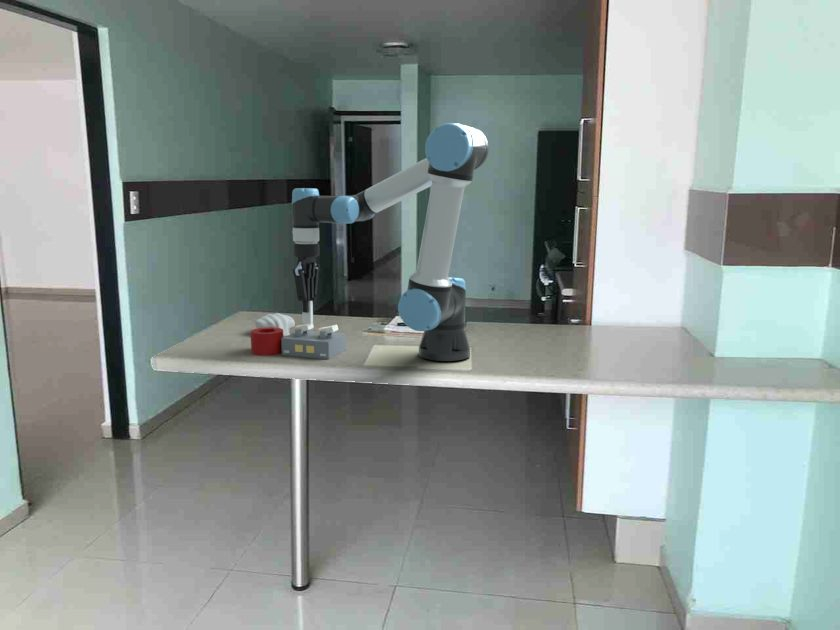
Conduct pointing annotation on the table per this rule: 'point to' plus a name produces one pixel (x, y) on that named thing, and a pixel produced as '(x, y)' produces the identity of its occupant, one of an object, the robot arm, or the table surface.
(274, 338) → the lever
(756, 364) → the table surface
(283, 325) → the shell shaped sculpture
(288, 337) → the panel
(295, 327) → the rocker
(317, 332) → the rocker
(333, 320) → the table surface
